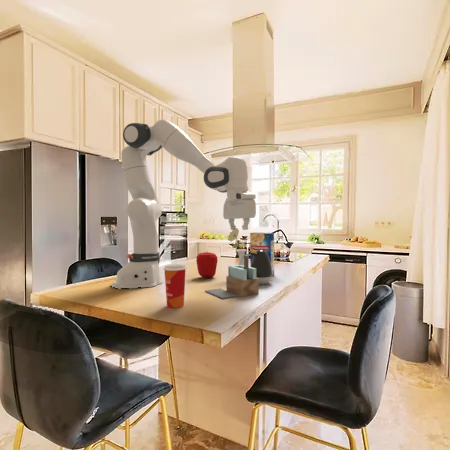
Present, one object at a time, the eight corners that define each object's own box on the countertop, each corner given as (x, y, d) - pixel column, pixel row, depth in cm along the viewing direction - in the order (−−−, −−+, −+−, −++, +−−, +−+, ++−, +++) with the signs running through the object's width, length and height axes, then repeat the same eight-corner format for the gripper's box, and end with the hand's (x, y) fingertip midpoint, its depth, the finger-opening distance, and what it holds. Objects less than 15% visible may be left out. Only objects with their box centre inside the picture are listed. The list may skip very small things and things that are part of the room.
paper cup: (165, 303, 110) (164, 263, 110) (187, 302, 111) (186, 262, 111) (162, 309, 103) (162, 266, 102) (186, 308, 103) (185, 266, 103)
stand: (241, 296, 119) (241, 256, 118) (226, 290, 128) (226, 254, 128) (258, 293, 123) (258, 255, 123) (242, 288, 132) (242, 253, 132)
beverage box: (271, 277, 158) (270, 233, 157) (250, 275, 162) (249, 233, 162) (274, 274, 164) (274, 232, 164) (254, 273, 168) (254, 232, 168)
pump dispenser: (245, 282, 145) (245, 249, 145) (265, 280, 150) (264, 248, 149) (256, 286, 136) (256, 251, 136) (276, 284, 140) (276, 250, 140)
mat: (222, 299, 115) (222, 297, 115) (205, 291, 127) (205, 290, 127) (238, 296, 119) (238, 295, 119) (220, 289, 131) (220, 288, 131)
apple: (192, 277, 158) (192, 250, 157) (206, 275, 165) (206, 249, 165) (207, 280, 151) (207, 252, 150) (221, 277, 158) (221, 250, 158)
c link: (228, 276, 129) (228, 266, 129) (240, 274, 132) (240, 265, 132) (243, 280, 119) (243, 269, 119) (256, 278, 122) (256, 268, 122)
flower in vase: (244, 274, 166) (243, 227, 165) (257, 277, 156) (257, 227, 156) (223, 277, 159) (222, 227, 158) (235, 280, 149) (235, 228, 149)
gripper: (219, 198, 137) (220, 230, 137) (244, 193, 119) (245, 230, 120) (231, 198, 140) (232, 229, 141) (258, 194, 123) (259, 229, 123)
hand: (239, 229), depth 130 cm, fingers open, 8 cm apart
